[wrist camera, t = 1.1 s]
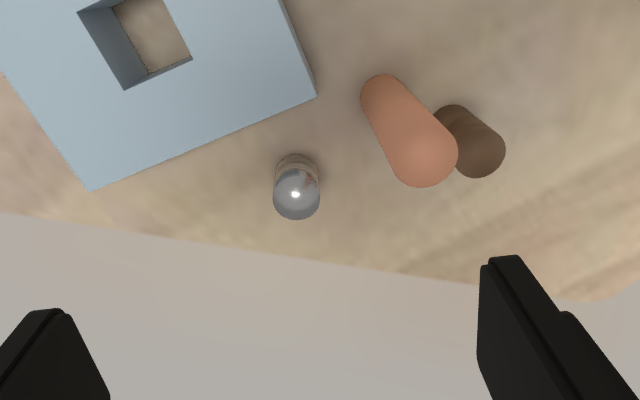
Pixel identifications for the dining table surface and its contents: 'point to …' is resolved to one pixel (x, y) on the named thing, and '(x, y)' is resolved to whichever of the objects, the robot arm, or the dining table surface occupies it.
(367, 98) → the long pin
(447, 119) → the mid pin
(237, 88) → the hole block
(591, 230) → the dining table surface
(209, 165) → the dining table surface
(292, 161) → the short pin
